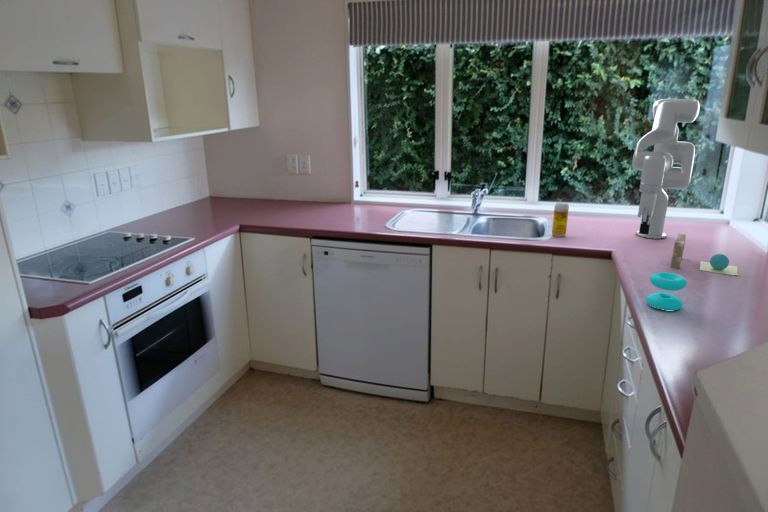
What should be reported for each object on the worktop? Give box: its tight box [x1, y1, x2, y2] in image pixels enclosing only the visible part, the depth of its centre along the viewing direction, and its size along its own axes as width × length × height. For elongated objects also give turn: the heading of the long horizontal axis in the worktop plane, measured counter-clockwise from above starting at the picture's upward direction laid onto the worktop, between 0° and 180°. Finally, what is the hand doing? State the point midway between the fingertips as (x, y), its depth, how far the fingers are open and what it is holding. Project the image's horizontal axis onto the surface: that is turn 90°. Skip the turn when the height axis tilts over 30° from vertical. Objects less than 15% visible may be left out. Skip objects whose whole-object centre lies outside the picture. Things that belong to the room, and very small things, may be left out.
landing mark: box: [699, 261, 739, 277], centre depth 199 cm, size 12×12×1 cm
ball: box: [709, 253, 730, 270], centre depth 197 cm, size 6×6×6 cm
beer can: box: [551, 201, 570, 238], centre depth 241 cm, size 6×6×15 cm
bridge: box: [670, 233, 687, 269], centre depth 205 cm, size 3×15×10 cm, turn 149°
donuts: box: [645, 271, 688, 311], centre depth 163 cm, size 10×10×10 cm
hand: (643, 233), depth 211 cm, fingers closed
